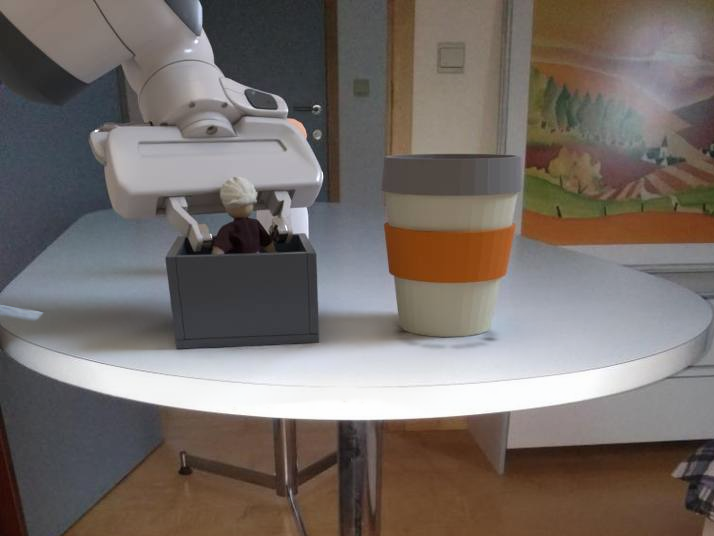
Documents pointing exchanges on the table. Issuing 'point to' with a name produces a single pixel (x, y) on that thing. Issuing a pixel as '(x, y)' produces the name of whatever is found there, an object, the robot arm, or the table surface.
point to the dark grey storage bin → (243, 295)
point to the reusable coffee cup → (449, 237)
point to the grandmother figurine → (241, 221)
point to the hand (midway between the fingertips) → (245, 243)
